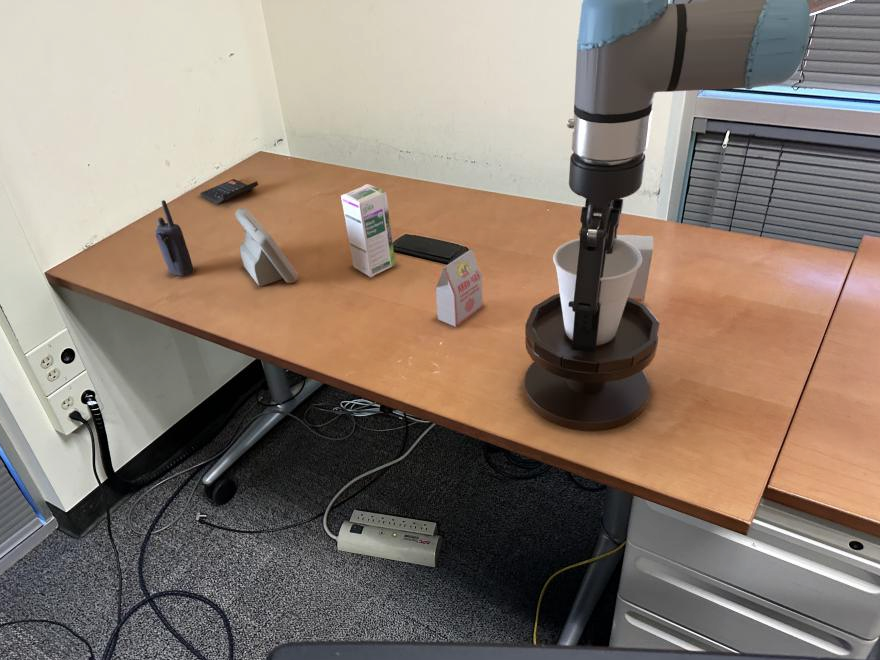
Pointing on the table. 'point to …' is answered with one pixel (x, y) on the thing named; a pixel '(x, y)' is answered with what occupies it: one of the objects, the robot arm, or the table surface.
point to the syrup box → (369, 229)
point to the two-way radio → (173, 245)
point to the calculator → (227, 191)
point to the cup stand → (589, 369)
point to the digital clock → (262, 253)
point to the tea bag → (459, 290)
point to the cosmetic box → (641, 277)
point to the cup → (613, 284)
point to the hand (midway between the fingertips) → (590, 328)
